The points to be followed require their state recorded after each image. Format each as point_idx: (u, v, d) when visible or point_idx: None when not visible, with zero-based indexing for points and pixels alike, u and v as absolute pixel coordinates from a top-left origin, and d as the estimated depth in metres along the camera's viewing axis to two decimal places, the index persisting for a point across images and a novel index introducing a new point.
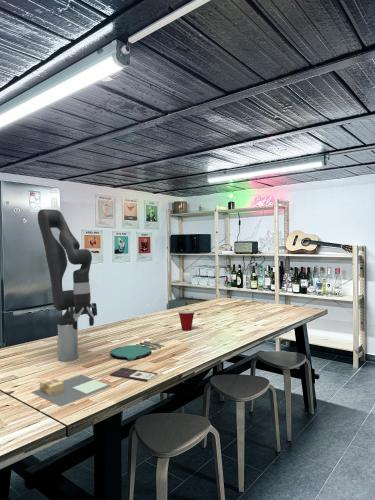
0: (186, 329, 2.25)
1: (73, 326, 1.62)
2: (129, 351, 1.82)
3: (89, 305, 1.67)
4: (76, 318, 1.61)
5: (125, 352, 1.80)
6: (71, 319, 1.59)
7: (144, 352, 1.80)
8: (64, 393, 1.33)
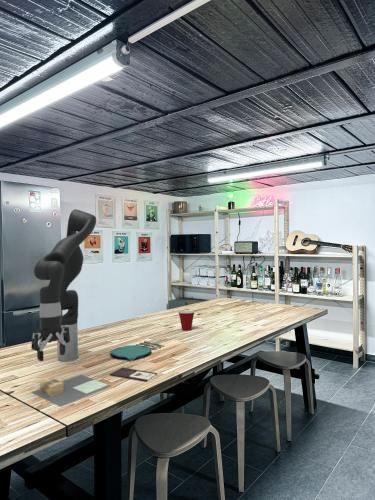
0: (186, 329, 2.25)
1: (38, 357, 1.30)
2: (129, 351, 1.82)
3: (59, 330, 1.36)
4: (42, 347, 1.30)
5: (125, 352, 1.80)
6: (35, 349, 1.28)
7: (144, 352, 1.80)
8: (64, 393, 1.33)
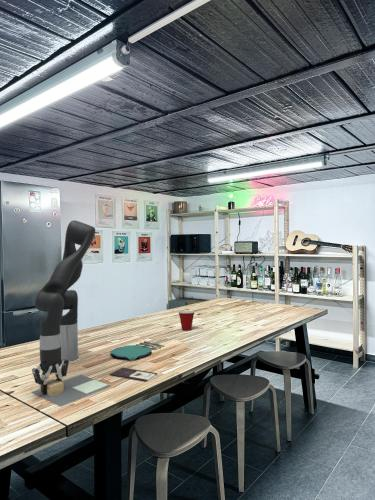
0: (186, 329, 2.25)
1: None
2: (129, 351, 1.82)
3: (60, 361, 1.36)
4: (45, 381, 1.31)
5: (125, 352, 1.80)
6: (39, 383, 1.29)
7: (144, 352, 1.80)
8: (64, 393, 1.33)
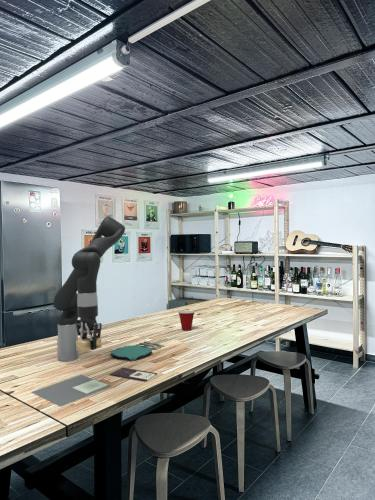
0: (186, 329, 2.25)
1: None
2: (130, 351, 1.81)
3: (90, 322, 1.35)
4: (81, 334, 1.39)
5: (126, 352, 1.80)
6: (77, 334, 1.40)
7: (145, 352, 1.80)
8: (64, 393, 1.33)
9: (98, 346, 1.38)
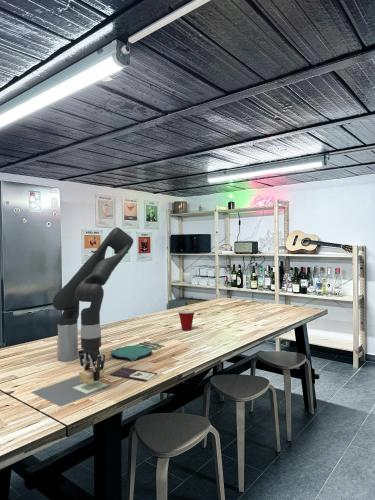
0: (186, 329, 2.25)
1: None
2: (130, 351, 1.81)
3: (93, 354, 1.36)
4: (84, 365, 1.40)
5: (126, 352, 1.79)
6: (80, 364, 1.41)
7: (145, 352, 1.80)
8: (64, 393, 1.33)
9: (101, 377, 1.39)
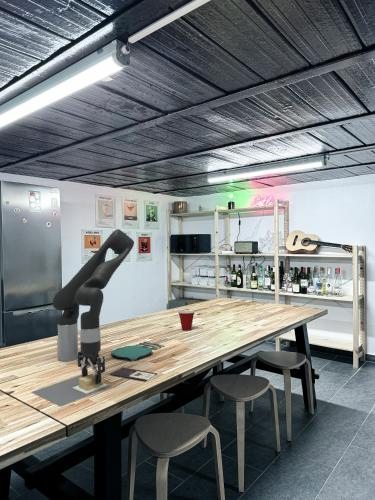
0: (186, 329, 2.25)
1: None
2: (130, 351, 1.81)
3: (93, 358, 1.36)
4: (81, 366, 1.40)
5: (126, 352, 1.79)
6: (78, 365, 1.42)
7: (145, 352, 1.80)
8: (64, 393, 1.33)
9: (101, 383, 1.39)
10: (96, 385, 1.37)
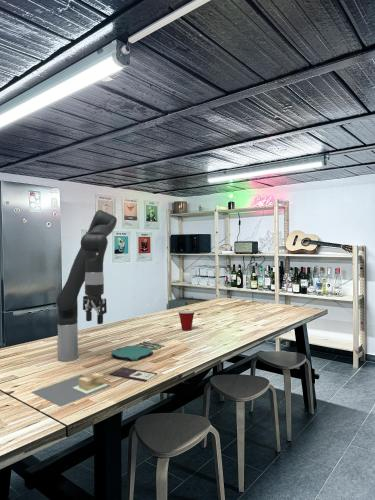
0: (186, 329, 2.25)
1: None
2: (130, 352, 1.81)
3: (96, 299, 1.45)
4: (86, 309, 1.50)
5: (126, 353, 1.79)
6: (83, 308, 1.51)
7: (146, 352, 1.79)
8: (64, 393, 1.33)
9: (101, 383, 1.39)
10: (96, 385, 1.37)
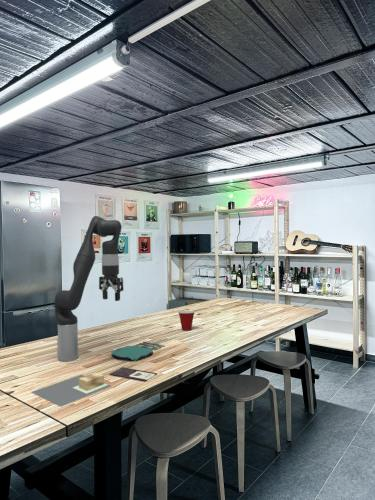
0: (186, 329, 2.25)
1: None
2: (130, 352, 1.81)
3: (113, 279, 1.60)
4: (102, 288, 1.64)
5: (127, 353, 1.79)
6: (99, 288, 1.66)
7: (146, 352, 1.79)
8: (64, 393, 1.33)
9: (101, 383, 1.39)
10: (96, 385, 1.37)
